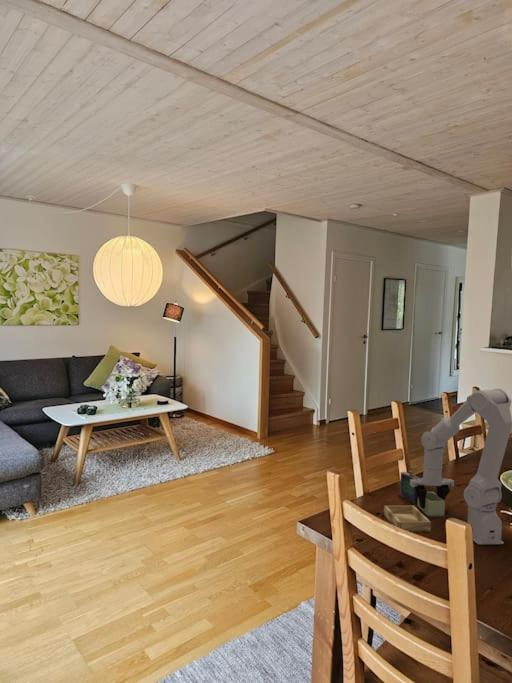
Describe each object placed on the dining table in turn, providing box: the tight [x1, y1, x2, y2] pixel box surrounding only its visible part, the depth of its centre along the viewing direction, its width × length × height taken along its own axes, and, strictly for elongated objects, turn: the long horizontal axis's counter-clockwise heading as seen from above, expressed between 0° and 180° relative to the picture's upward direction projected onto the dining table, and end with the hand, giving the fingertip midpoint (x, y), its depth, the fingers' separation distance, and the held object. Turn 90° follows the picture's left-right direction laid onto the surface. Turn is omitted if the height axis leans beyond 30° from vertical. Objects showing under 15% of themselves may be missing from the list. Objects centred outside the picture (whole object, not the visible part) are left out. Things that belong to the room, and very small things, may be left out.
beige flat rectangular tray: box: [383, 504, 432, 533], centre depth 143 cm, size 12×10×3 cm
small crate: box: [416, 491, 446, 518], centre depth 152 cm, size 8×5×5 cm
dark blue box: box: [399, 470, 420, 506], centre depth 160 cm, size 9×3×11 cm, turn 24°
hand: (430, 507), depth 152 cm, fingers closed on small crate, 5 cm apart
